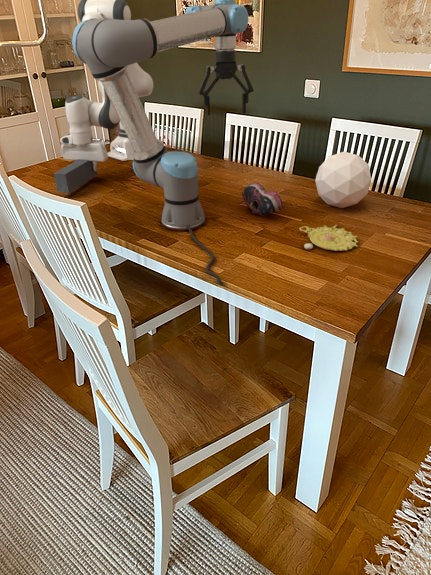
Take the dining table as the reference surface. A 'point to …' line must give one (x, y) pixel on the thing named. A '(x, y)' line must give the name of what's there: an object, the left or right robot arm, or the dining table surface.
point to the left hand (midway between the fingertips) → (87, 170)
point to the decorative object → (330, 238)
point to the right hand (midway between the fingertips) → (226, 113)
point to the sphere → (343, 179)
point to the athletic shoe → (261, 200)
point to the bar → (74, 176)
